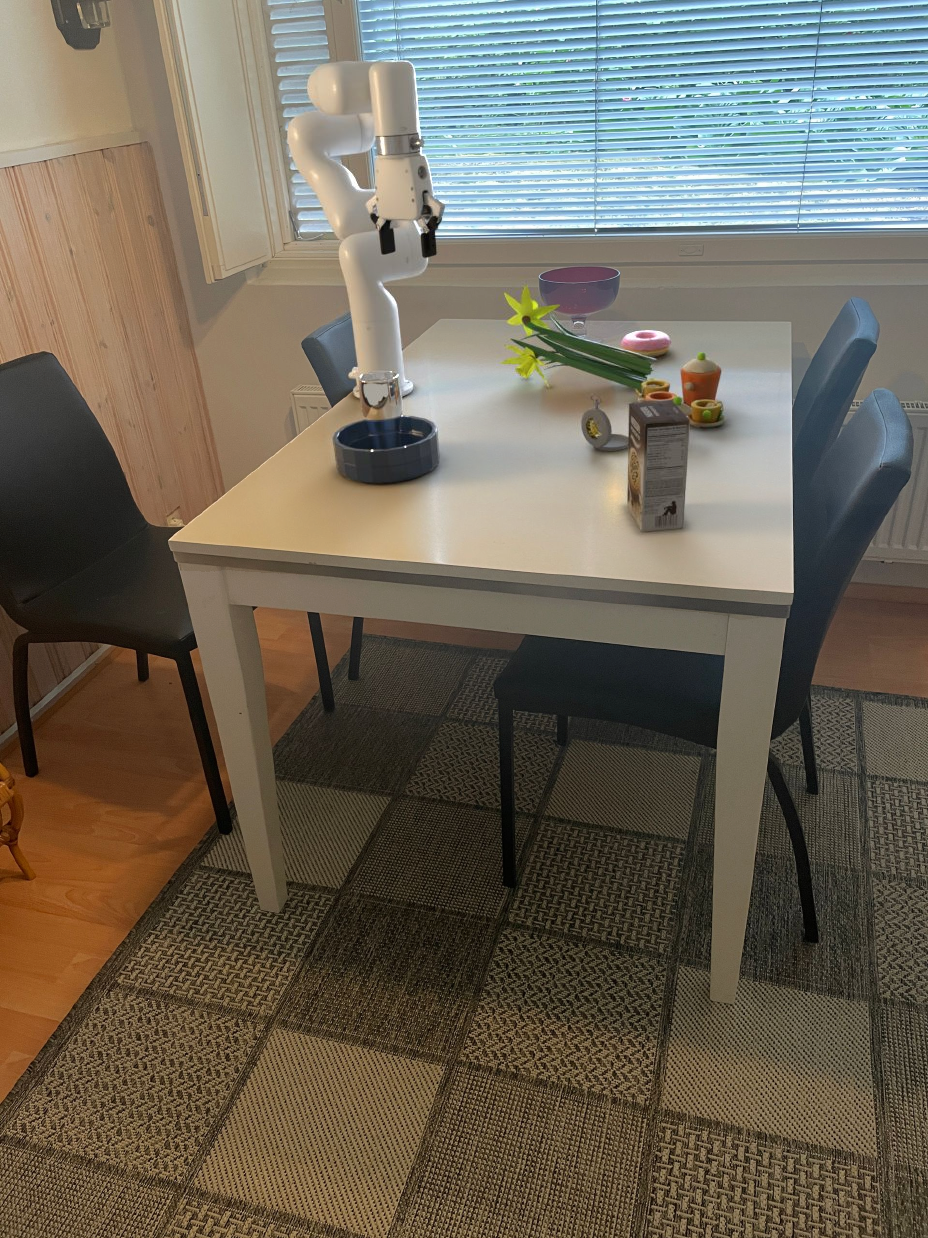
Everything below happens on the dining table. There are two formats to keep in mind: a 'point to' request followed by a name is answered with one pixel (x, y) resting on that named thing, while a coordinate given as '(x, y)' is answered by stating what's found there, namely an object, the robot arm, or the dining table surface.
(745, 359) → the dining table surface
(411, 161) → the robot arm
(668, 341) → the doughnut
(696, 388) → the toy tea set
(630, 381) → the daffodil flowers
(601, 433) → the pocket watch
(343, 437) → the bowl
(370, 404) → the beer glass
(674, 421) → the coffee box
